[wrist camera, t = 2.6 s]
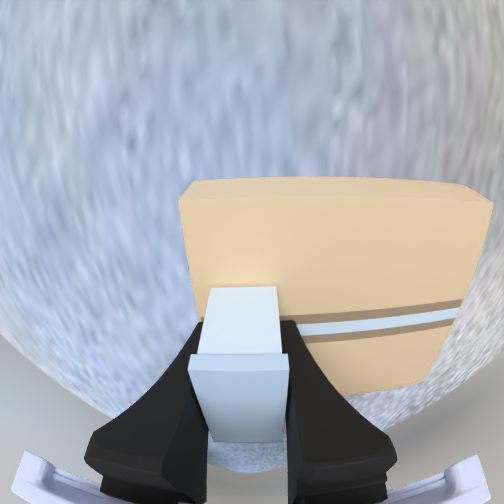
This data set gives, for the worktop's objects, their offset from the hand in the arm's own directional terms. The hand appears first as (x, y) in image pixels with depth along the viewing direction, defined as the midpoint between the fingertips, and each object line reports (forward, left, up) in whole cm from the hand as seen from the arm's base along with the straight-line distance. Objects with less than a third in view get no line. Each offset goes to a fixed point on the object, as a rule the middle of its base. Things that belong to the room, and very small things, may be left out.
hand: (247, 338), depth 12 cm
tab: (0, 0, 0) cm, 0 cm away
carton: (-5, 0, -3) cm, 5 cm away
